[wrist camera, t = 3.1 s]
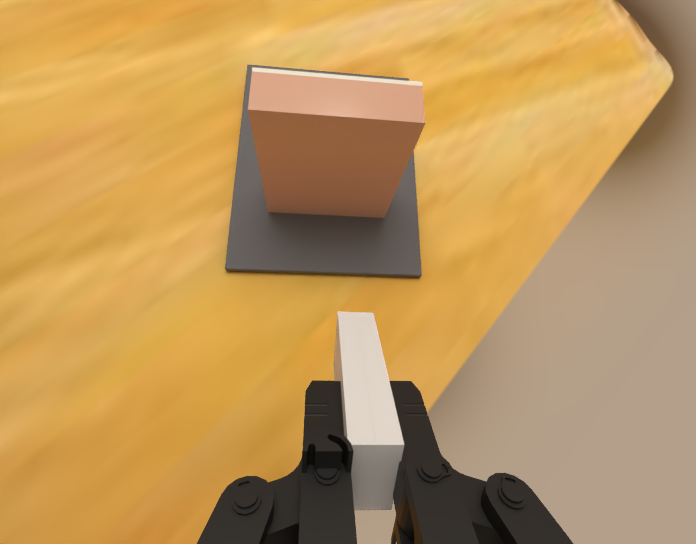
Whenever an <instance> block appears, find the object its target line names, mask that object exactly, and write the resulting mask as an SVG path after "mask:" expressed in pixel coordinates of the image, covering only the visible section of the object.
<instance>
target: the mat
mask: <svg viewBox="0 0 696 544" xmlns="http://www.w3.org/2000/svg"><path fill="white" fill-rule="evenodd" d="M252 67H255V68H266V69H278V70H289V71H301V72H312V73H324V74H335V75H347V76H358V77H370V78H381V79H393V80H404V81H409V79H406V78H395V77H383V76H372V75H360V74H349V73H338V72H326V71H315V70H303V69H292V68H281V67H269V66H258V65H248V66H247V75H246V84H245V93H244V102H243V111H242V120H241V129H240V138H239V147H238V156H237V165H236V174H235V183H234V192H233V201H232V210H231V219H230V228H229V237H228V246H227V255H226V264H225V269H226V271H247V272H276V273H306V274H335V275H365V276H394V277H420V276H421V259H420V244H419V229H418V214H417V198H416V183H415V168H414V153H412V155H411V157H410V160H409V162H408V164H407V167H406V169H405V171H404V174H403V176H402V178H401V180H400V183H399V185H398V187H397V190H396V192H395V194H394V197H393V199H392V201H391V204H390V206H389V208H388V211H387V213H386V215H385V218H376V217H356V216H336V215H316V214H296V213H275V212H268V210H267V205H266V200H265V195H264V190H263V185H262V179H261V174H260V169H259V164H258V159H257V154H256V149H255V144H254V138H253V133H252V128H251V123H250V118H249V113H248V103H249V94H250V84H251V75H252Z"/></svg>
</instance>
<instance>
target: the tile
mask: <svg viewBox="0 0 696 544" xmlns="http://www.w3.org/2000/svg"><path fill="white" fill-rule="evenodd" d="M248 113H249V118H250V123H251V128H252V133H253V138H254V144H255V149H256V154H257V159H258V164H259V169H260V174H261V179H262V185H263V190H264V195H265V200H266V205H267V210H268V212H275V213H296V214H316V215H336V216H356V217H376V218H385V215H386V213H387V211H388V208H389V206H390V204H391V201H392V199H393V197H394V194H395V192H396V190H397V187H398V185H399V183H400V180H401V178H402V176H403V174H404V171H405V169H406V167H407V164H408V162H409V160H410V157H411V155H412V153H413V150H414V148H415V146H416V143H417V141H418V139H419V136H420V134H421V132H422V129H423V127H424V125H425V113H424V100H423V88H422V82H416V81H404V80H393V79H381V78H370V77H358V76H347V75H335V74H324V73H312V72H301V71H289V70H278V69H266V68H255V67H252V75H251V84H250V94H249V103H248Z"/></svg>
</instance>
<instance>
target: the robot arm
mask: <svg viewBox="0 0 696 544" xmlns="http://www.w3.org/2000/svg"><path fill="white" fill-rule="evenodd" d="M334 379H335V381H312V382H311V383H310V385H309V387H308V388H307V390H306V396H305V417H304V438H303V451H302V459H301V461H300V463H299V465H298V466H297V468H296V469H295V470H294V471H293V472H291V473H290V474H289V475H287V476H285V477H283V478H281V479H278V480H275V481H272V482H269V483H268V482H267V481H266V480H264V479H262V478H260V477H257V476H246V477H242V478H239V479H237V480H235V481H234V482H232V483H231V484H230V485H228V486H227V488H226V489H225V490H224V492H223V493H222V494H221V496H220V498H219V500H218V502H217V504H216V506H215V508H214V510H213V512H212V514H211V516H210V518H209V520H208V522H207V524H206V526H205V528H204V530H203V532H202V534H201V536H200V538H199V540H198V542H197V544H357V538H356V526H355V514H354V510H391V509H392V504H393V499H394V504H395V510H396V519H395V524H394V528H393V533H392V538H391V544H396V542H397V544H573V543H572V541H571V540H570V539H569V537H568V536H567V535H566V533H565V532H564V531H563V530H562V528H561V527H560V526H559V524H558V523H557V522H556V521H555V519H554V518H553V517H552V515H551V514H550V513H549V511H548V510H547V509H546V507H545V506H544V505H543V504H542V502H541V501H540V500H539V498H538V497H537V496H536V494H535V493H534V492H533V491H532V489H531V488H529V486H528V485H527V484H526V483H525V482H524V481H522V480H520V479H519V478H517V477H515V476H513V475H510V474H506V473H495V474H494V475H492V476H490V477H489V478H488V480H487V482H486V481H482V480H479V479H476V478H472V477H469V476H466V475H464V474H461V473H459V472H457V471H456V470H454V469H453V468H452V467H451V465H450V463H449V462H447V461H446V460H445V459H444V458H443V457H442V455H441V453H440V451H439V448H438V445H437V442H436V439H435V436H434V433H433V430H432V427H431V423H430V420H429V417H428V416H427V411H426V408H425V406H424V402H423V399H422V396H421V393H420V391H419V390H418V389H417V387H416V386H415V385H414V384H413V383H412V382H411V381H389V377H388V373H387V369H386V365H385V360H384V356H383V352H382V347H381V343H380V339H379V335H378V330H377V326H376V322H375V318H374V313H366V312H338V315H337V328H336V341H335V354H334Z"/></svg>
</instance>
